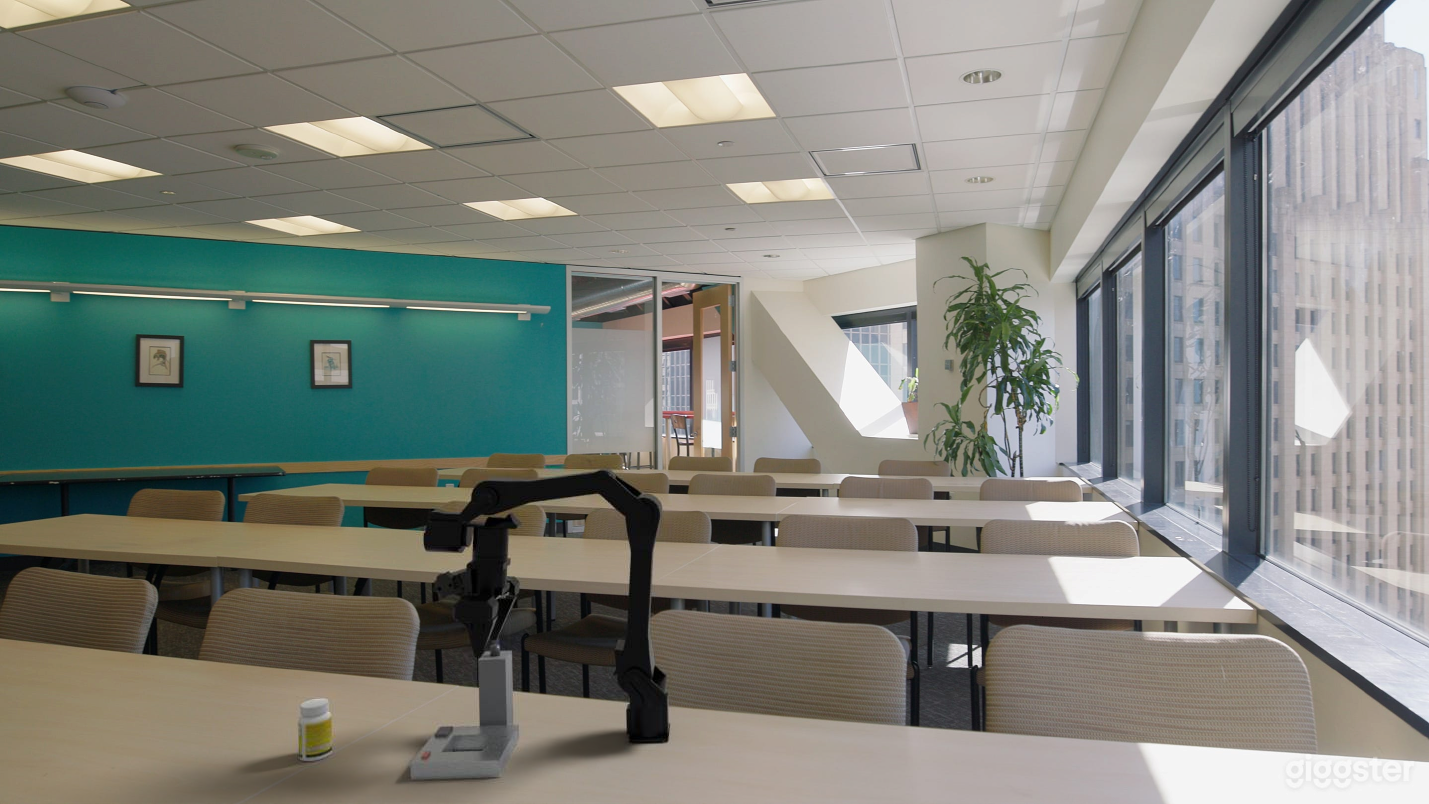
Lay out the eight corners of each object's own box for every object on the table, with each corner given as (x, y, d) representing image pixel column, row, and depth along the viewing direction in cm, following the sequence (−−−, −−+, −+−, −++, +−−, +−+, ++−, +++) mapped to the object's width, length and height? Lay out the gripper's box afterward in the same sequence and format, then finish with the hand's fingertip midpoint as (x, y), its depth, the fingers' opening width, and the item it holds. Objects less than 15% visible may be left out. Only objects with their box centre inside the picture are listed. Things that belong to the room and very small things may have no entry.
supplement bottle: (339, 751, 128) (337, 699, 128) (315, 764, 123) (314, 710, 123) (315, 747, 129) (314, 696, 129) (291, 760, 125) (290, 706, 125)
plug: (513, 726, 136) (511, 641, 136) (507, 737, 132) (505, 649, 132) (487, 727, 136) (485, 642, 136) (479, 738, 132) (478, 650, 132)
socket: (519, 739, 130) (518, 722, 130) (499, 777, 117) (498, 757, 117) (439, 742, 130) (439, 724, 130) (410, 779, 117) (410, 760, 117)
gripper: (459, 542, 140) (455, 630, 140) (421, 563, 122) (416, 665, 122) (521, 544, 140) (518, 632, 140) (493, 566, 122) (489, 668, 122)
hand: (486, 648), depth 131 cm, fingers open, 9 cm apart
